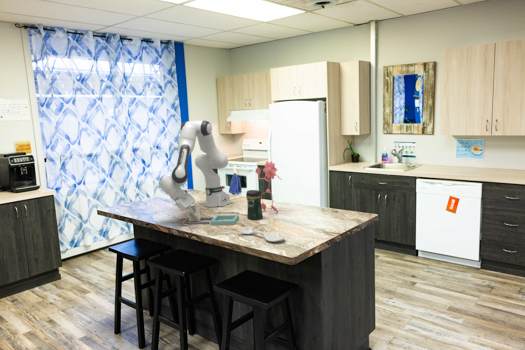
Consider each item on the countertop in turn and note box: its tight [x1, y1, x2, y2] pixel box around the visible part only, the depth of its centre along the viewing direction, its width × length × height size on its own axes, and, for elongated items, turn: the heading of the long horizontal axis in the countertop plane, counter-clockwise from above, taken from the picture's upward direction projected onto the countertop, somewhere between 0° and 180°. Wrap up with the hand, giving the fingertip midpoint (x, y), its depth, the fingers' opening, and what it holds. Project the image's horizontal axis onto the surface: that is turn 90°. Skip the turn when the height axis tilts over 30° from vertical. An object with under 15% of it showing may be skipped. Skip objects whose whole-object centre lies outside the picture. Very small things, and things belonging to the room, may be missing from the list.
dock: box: [209, 214, 240, 226], centre depth 260 cm, size 15×15×2 cm
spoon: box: [236, 225, 286, 243], centre depth 224 cm, size 9×32×4 cm, turn 44°
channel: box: [181, 216, 215, 225], centre depth 263 cm, size 18×12×2 cm
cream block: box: [187, 203, 201, 222], centre depth 263 cm, size 6×5×10 cm
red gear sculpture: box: [255, 160, 282, 215], centre depth 279 cm, size 15×26×35 cm, turn 42°
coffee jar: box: [245, 189, 264, 220], centre depth 264 cm, size 10×8×19 cm
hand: (195, 210), depth 262 cm, fingers closed on cream block, 5 cm apart
